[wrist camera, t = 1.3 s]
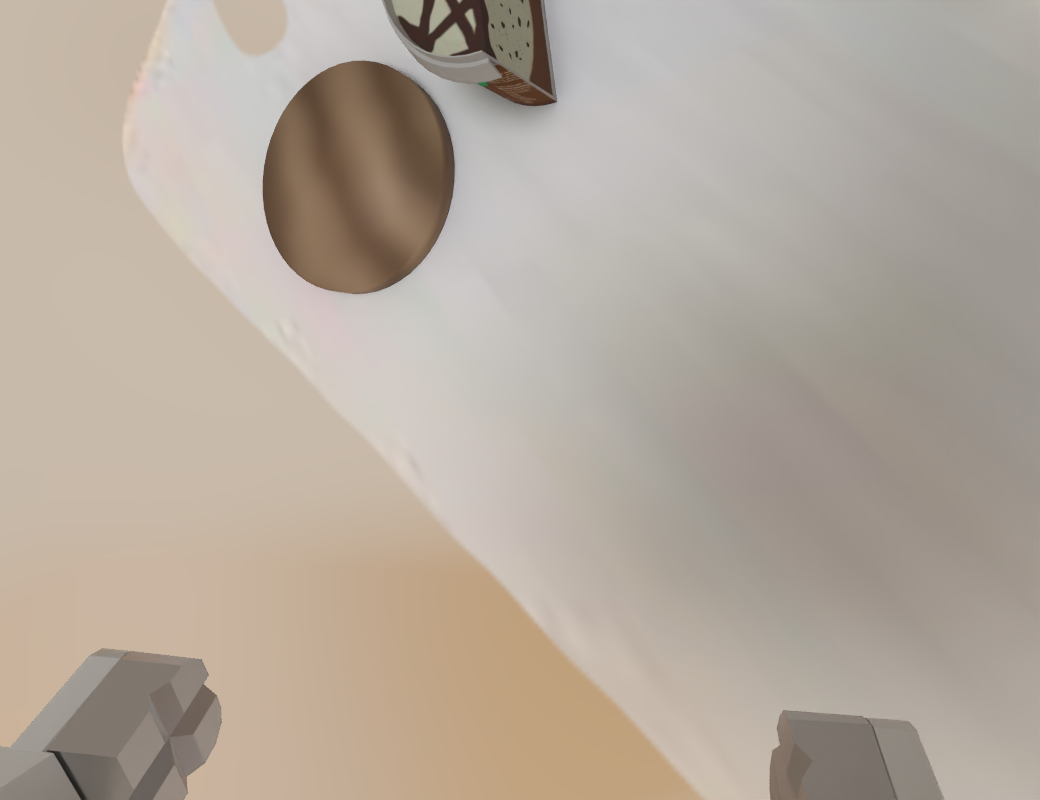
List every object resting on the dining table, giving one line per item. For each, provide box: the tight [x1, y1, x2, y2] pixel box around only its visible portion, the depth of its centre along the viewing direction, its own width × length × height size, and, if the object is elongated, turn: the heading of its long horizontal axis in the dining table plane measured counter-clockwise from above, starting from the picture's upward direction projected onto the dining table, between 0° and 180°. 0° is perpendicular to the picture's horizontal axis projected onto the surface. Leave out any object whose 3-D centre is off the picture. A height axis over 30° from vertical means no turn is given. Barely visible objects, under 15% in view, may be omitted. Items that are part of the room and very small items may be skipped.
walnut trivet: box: [263, 61, 454, 294], centre depth 50 cm, size 16×16×2 cm
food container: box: [382, 0, 557, 106], centre depth 40 cm, size 12×6×10 cm, turn 9°
